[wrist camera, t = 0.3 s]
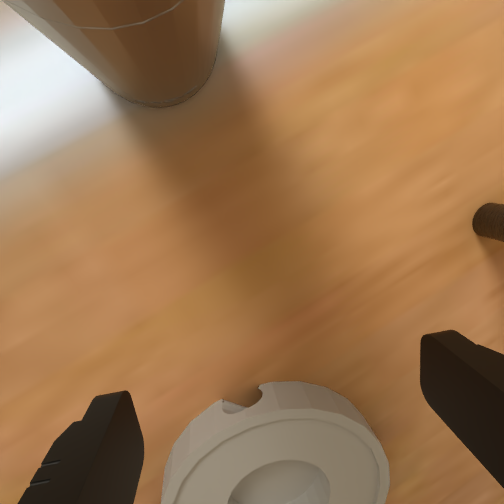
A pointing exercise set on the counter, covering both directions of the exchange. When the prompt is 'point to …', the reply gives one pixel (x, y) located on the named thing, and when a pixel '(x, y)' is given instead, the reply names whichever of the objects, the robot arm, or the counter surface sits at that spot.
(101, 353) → the counter surface
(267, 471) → the ashtray
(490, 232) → the graphite peg
